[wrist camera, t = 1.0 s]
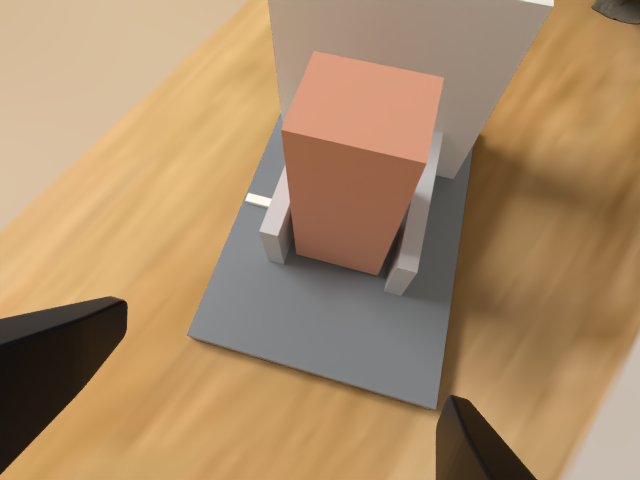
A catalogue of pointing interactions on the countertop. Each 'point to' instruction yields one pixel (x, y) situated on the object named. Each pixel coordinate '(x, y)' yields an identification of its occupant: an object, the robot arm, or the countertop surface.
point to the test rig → (419, 219)
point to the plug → (355, 156)
